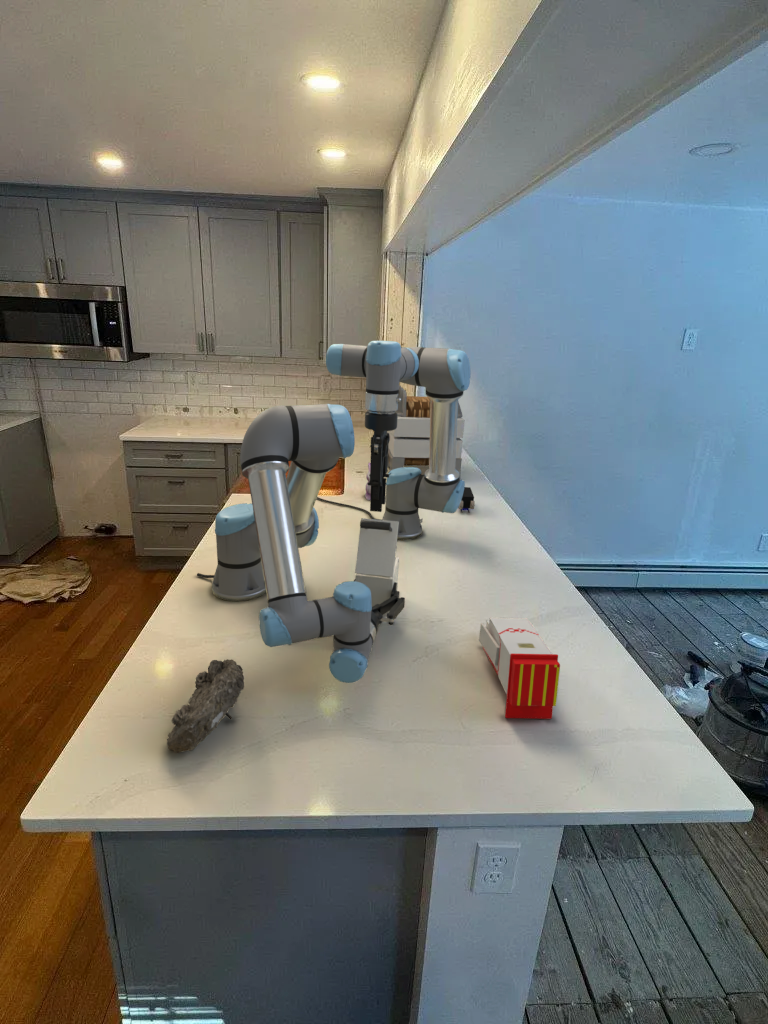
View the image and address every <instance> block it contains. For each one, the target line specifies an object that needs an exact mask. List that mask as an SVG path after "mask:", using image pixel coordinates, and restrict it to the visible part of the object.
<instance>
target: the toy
mask: <svg viewBox="0 0 768 1024" xmlns="http://www.w3.org/2000/svg"><path fill="white" fill-rule="evenodd" d="M478 642H479V644H480V645H481V647H482V649H483V651H484V653H485V655H486V656H487V659H488V661H489V662H490V664H491V666H492V667H493V669H494V671H495V673H496V675H497V678H498V679H499V682H500V684H501V686H502V688H503V690H504V692H505V694H506V695H505V696H506V701H505V711H504V717H505V719H535V720H536V719H537V720H538V719H539V720H540V719H541V720H552V719H553V710H554V707H556V706H557V699H558V691H559V682H560V681H559V679H560V670H561V664H560V662H559V655H558V654H555V653H552V651H551V649H550V648H549V647H548V645H547V643H545V641H544V640H543V638H542V637H541V636H540V634H539V633H538V631H537V630H536V628H535V626H534V625H533V623H532V622H531V621H530V620H529V618H528V617H493V616H492V617H489V619H486V623H485V624H484V623H482V622H481V623H480V627H479V635H478Z"/></svg>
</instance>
